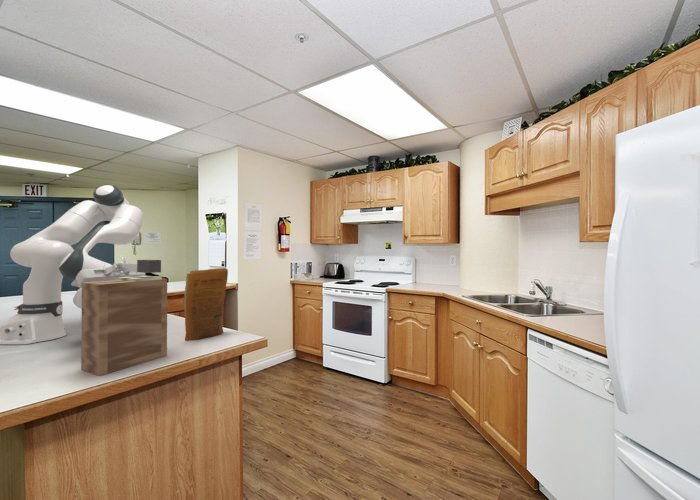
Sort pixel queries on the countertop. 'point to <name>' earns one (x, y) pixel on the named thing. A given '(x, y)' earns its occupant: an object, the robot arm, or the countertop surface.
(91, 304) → the brown wooden box
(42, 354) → the countertop surface
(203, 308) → the pancake mix bag
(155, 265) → the grey metal bar
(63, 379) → the countertop surface
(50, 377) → the countertop surface
